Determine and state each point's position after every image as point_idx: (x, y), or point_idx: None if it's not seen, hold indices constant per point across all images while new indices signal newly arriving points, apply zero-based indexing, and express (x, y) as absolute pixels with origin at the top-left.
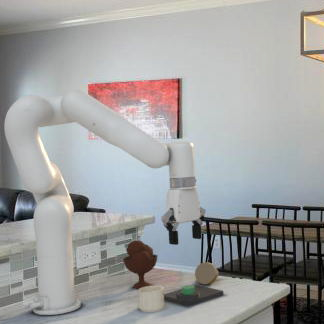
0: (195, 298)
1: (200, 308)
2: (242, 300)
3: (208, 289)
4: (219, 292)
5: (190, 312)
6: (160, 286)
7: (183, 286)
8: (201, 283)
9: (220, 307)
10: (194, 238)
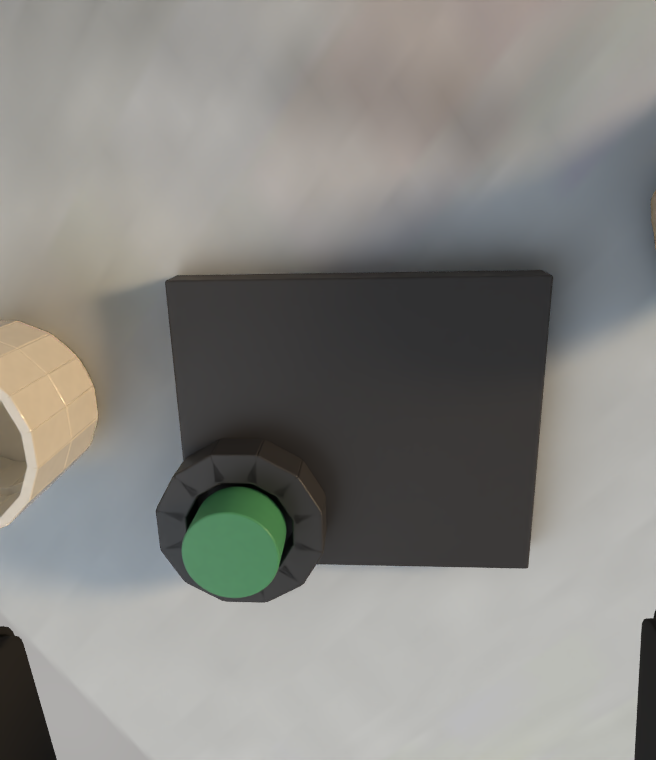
0: None
1: (234, 615)
2: (498, 698)
3: (494, 465)
4: (487, 565)
5: (150, 621)
6: (28, 455)
7: (213, 522)
8: (654, 234)
9: (319, 685)
10: (651, 642)
